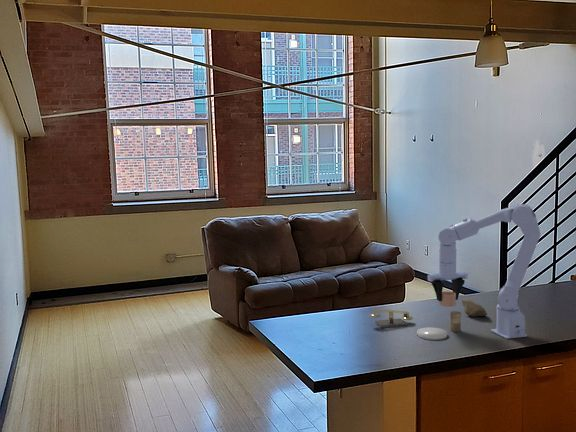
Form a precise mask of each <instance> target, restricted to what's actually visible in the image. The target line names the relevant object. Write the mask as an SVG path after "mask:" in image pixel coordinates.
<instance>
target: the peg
mask: <svg viewBox="0 0 576 432" xmlns="http://www.w3.org/2000/svg"><path fill="white" fill-rule="evenodd" d="M461 318H462V313H461V312H460V311H453V310H452V311H451V312H450V332H451V333H460V332H462V331H461V329H462V326H461V325H462V323H461V322H462V321H461V320H462V319H461Z"/></svg>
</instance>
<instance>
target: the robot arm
mask: <svg viewBox="0 0 576 432" xmlns="http://www.w3.org/2000/svg"><path fill="white" fill-rule="evenodd" d="M499 222H504V223H509V224H510V223H511V222H512V223H514V224H515V225H516V226H517V227H518V228H519V229H520V230H521V232H522V234H523V236H524V237H523V239H522V242H521V244H520V247H519V249H518V251H517V255H516V257H515V260H514V261H513V265H512V267H511V269H510V272H509V275H508V278H507V280H506V282H505V284H504V285H503V286H502V287H500V289H499V292H498V296H497V298H496V302H497V304H496V320H495V321H496V324H495V325H496V327H495V328H491V329H490V331H491V332H492V333H495V334H497V335H498V336H501V337H503V338H505V339H516V338H525V337H528V334H526V316H525V315H524V313H523V312H521V310H520V306H519V304H518V299H519V291H520V288H521V285H522V283H523V280H524V277H525V275H526V272H527V270H528V268H529V265H530V263H531V260H532V257H533V254H534V252H535V250H536V248H537V246H538V243H539V240H540V237H541V231H540V227H539V223H538V218H537V215H536V213H535V212H534V210H533V209H532V207H531V206H530V205H528V204H525V203H519V204H517V205H514V206H509V207H505V208H502V209H499V210H498V211H494V212H493V213H490V214H488V215H486V216H483V217H481V218H479V219H473V218H467V217H466V218H463V219H462V221H460V222H458V223H456V224H453V223H451V224H450V225H449V226H447V227H444V228H442V230H441V231H440V232H439V234H438V240H439V258H438V259H439V263H438V265H439V267H438V269H439V270H438V272H439V273H435V274H427V281H428V282H430V284H431V285H432V287H433V289H434V292H435V296H436V297H435V298H436V301H438V302H439V301H442V292H443V289H444V283H443V282H442V281H447V280H448V281H450V280H451V285H452V292H454V293H456V301H458V300H459V295H460V292H461V290H462V288H463V286H464V285H465V280H468V279H469V278H468V274H469V273H467V272H457V242H456V241H462V240H465V239H469V238H470V237H473V236H476V235H477V234H478V233H479V231H480V230H481V229H483V228H487V227H489V226H492V225H494V224H498V223H499Z"/></svg>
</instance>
